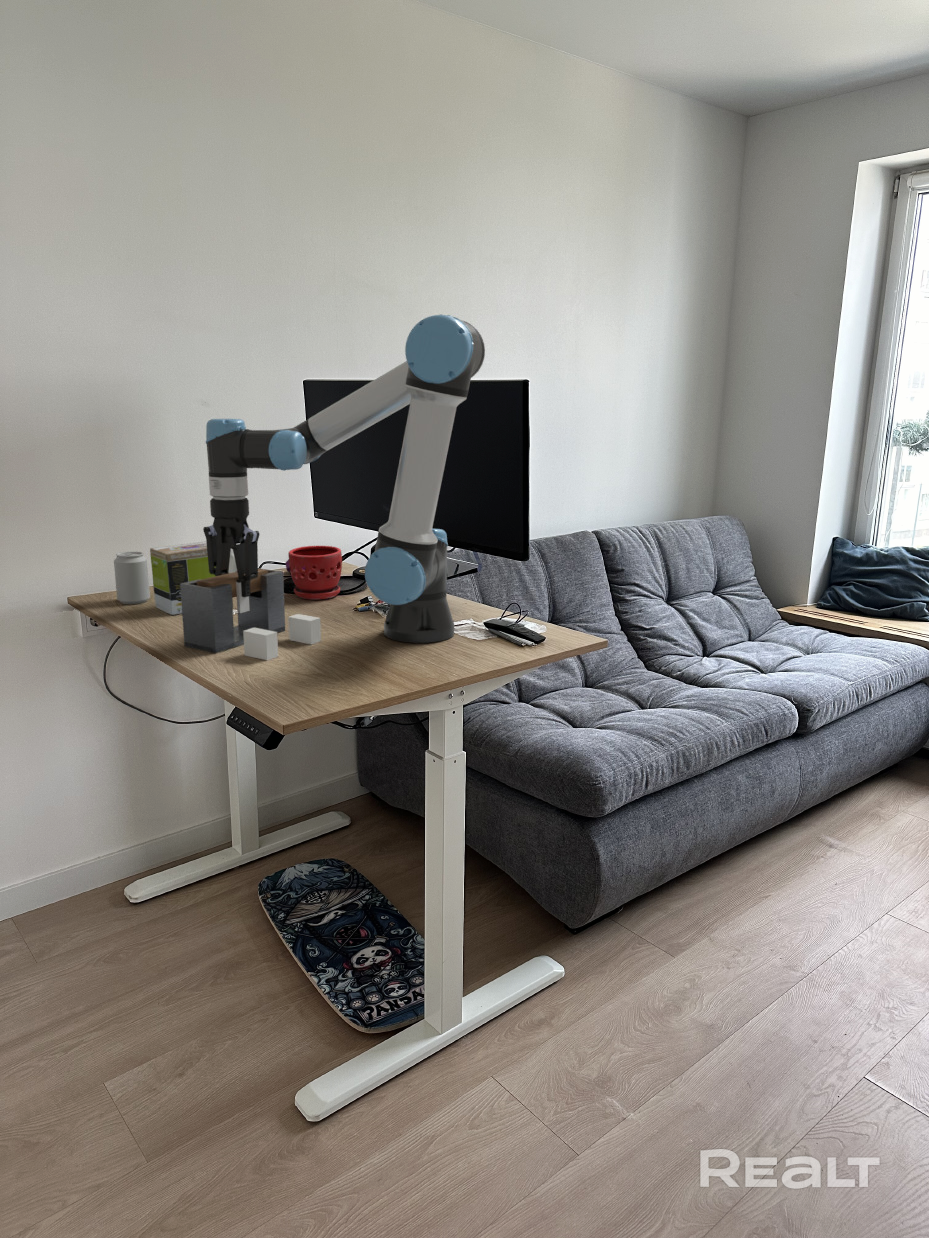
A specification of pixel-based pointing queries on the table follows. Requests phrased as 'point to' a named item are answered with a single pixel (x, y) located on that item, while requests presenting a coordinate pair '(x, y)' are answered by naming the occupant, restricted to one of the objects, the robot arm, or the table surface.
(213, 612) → the brackets
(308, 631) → the blocks
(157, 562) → the tea box
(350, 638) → the table surface
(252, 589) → the rail
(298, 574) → the plant pot
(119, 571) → the can
